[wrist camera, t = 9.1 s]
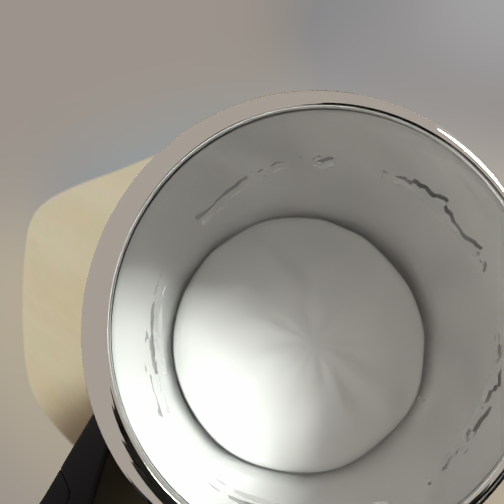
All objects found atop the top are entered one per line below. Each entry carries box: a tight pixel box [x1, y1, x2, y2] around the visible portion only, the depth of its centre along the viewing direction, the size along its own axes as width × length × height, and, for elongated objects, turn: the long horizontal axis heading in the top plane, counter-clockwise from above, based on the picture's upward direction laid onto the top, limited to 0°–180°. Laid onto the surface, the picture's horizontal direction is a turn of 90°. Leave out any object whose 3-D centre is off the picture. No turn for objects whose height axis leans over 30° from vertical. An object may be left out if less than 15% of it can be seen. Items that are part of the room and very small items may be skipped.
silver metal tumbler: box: [81, 90, 504, 504], centre depth 10 cm, size 7×7×15 cm
